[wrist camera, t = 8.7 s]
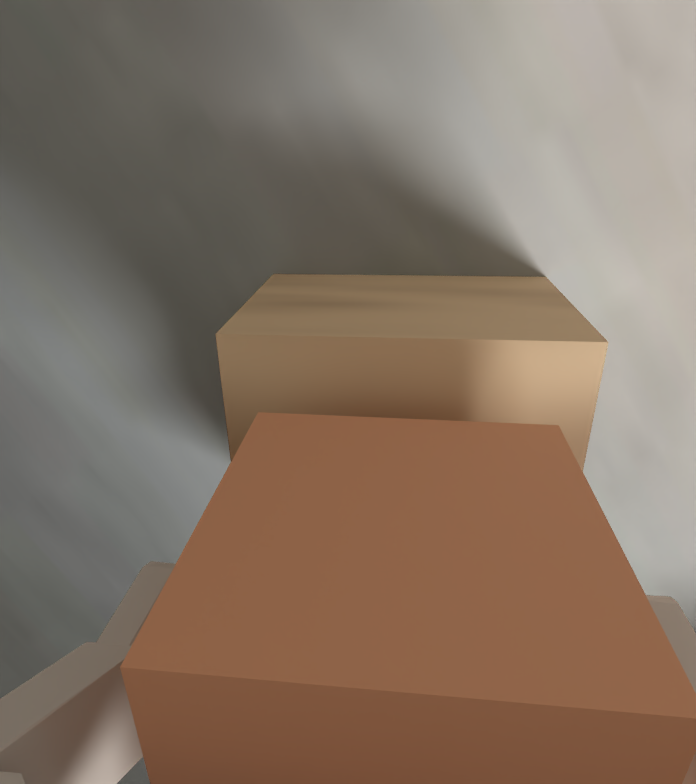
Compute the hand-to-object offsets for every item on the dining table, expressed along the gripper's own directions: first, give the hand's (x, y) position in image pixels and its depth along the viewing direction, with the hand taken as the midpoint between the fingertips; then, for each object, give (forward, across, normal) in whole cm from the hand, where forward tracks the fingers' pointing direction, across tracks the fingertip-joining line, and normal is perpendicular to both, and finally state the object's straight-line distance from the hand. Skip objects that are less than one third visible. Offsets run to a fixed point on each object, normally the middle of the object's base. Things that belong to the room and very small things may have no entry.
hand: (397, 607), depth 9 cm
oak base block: (+8, 0, 0) cm, 8 cm away
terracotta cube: (+2, 0, 0) cm, 2 cm away
